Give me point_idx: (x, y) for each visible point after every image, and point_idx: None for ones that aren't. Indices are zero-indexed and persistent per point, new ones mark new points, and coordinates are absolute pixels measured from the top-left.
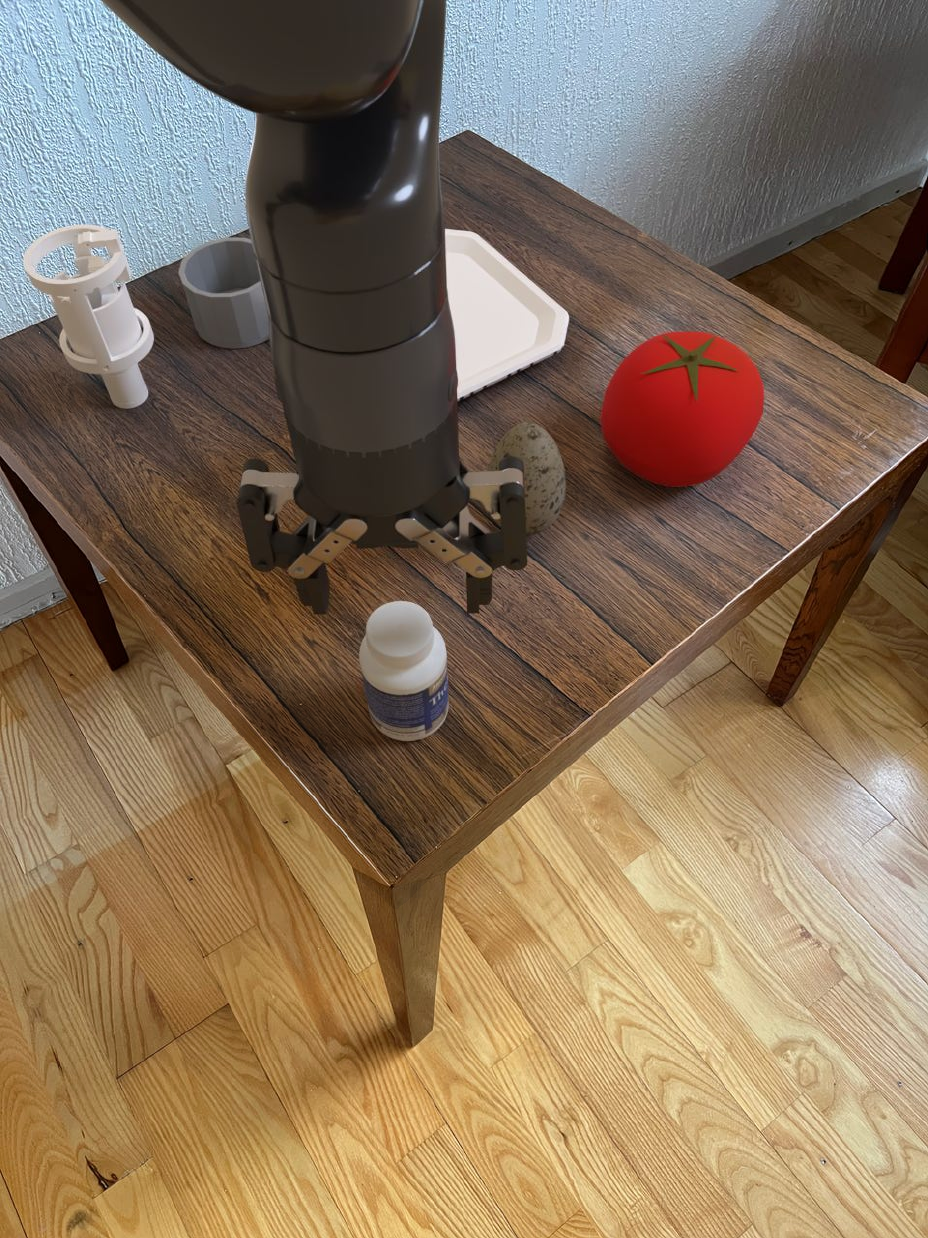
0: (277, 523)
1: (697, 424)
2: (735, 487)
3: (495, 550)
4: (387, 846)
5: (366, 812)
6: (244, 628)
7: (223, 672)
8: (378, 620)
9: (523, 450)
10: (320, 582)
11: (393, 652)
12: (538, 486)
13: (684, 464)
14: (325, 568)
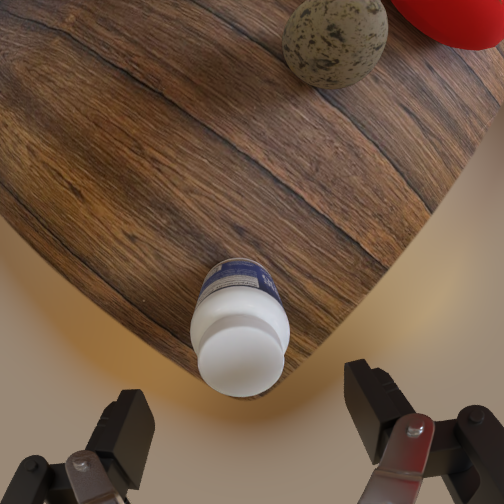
0: (42, 491)
1: (496, 22)
2: None
3: (436, 473)
4: None
5: None
6: (73, 233)
7: (75, 279)
8: (211, 359)
9: (360, 26)
10: (139, 466)
11: (241, 394)
12: (367, 62)
13: (473, 44)
14: (128, 418)
